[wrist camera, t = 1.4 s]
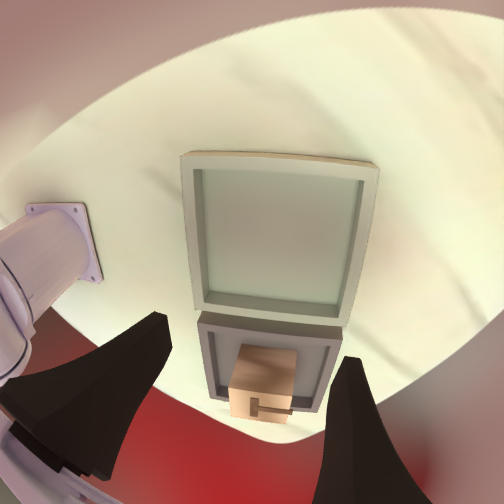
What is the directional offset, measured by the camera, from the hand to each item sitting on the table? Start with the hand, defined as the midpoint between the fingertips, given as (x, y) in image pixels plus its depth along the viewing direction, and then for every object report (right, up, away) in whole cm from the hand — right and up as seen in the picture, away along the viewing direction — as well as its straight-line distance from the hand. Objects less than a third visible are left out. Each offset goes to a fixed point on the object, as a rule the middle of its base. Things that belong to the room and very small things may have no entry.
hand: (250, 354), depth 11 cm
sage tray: (+2, +5, +9) cm, 10 cm away
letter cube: (+2, -7, +15) cm, 16 cm away
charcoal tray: (+2, -6, +15) cm, 17 cm away
